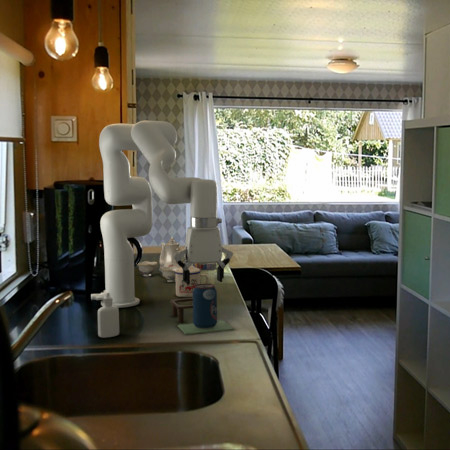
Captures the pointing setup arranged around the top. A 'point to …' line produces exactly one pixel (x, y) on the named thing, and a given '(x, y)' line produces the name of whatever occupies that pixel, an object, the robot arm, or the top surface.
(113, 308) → the eye dropper bottle
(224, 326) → the mat
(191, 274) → the teacup with lid
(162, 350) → the top surface
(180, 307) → the can rack
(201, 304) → the soda can
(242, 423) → the top surface
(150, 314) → the top surface
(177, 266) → the chinaware
